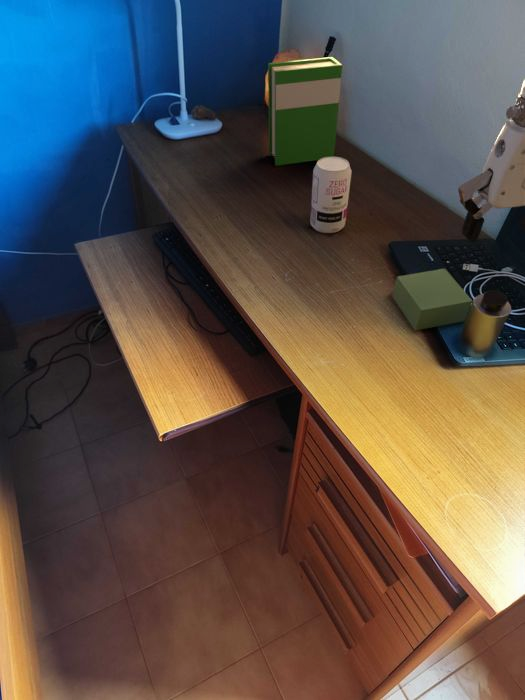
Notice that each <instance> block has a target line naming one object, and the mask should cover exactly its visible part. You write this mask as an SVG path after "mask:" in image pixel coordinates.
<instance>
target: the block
mask: <svg viewBox="0 0 525 700" xmlns="http://www.w3.org/2000/svg"><path fill="white" fill-rule="evenodd" d="M392 299H393V300H394V302H395V304H397V306H398V308H399V310H401V312H402V313H403V315H404V317H405V318H406V319H407V321H408V322H409V323H410V325H411V327H412V328H413V330H414V331H421V330H426V329H431V328H436V327H441V326H447V325H451V324H457V323H462V322H465V320H466V318H467V315H468V313H469V310H470V308H471V305H472V303H473V300H472V298H471V297H470V296H469V295H468V294H467V293H466V291H465V290H464V289H463V288H462V287H461V285H460V284H459V283H458V282H457V281H456V280H455V278H454V277H453V276H452V275H451V274H450V272H448V270H447V269H446V268H439V269H434V270H428V271H422V272H416V273H411V274H406V275H399V276H397V277H396V280H395V283H394V288H393V292H392Z"/></svg>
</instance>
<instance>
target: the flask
mask: <svg viewBox="0 0 525 700" xmlns="http://www.w3.org/2000/svg"><path fill="white" fill-rule="evenodd" d="M511 312H512V306H511V304H510V303H509V301H508V297H507V295H505V293H503V292H501V291H499V290H495V289H489V290H486V291H485V292H484V293H481V294H478V295H476V296H475V297H474V298H473V300H472V304H471V306H470V309H469V311H468V314H467V316H466V319H465V321H464V323H463V326H462V328H461V330H460V332H459V335H458V337H457V341H456V345H457V348H458V349H459V351H460V352H461V353H463V355H466V356H468V357H471V358H474V359H483V358H486V357H488V356H490V354H491V353H492V351H493V349H494V346H495V345H496V342H497V341H498V338H499V336H500V335H501V333H502V330H503V328H504V326H505V324H506V322H507V320H508V318H509V316H510V314H511Z"/></svg>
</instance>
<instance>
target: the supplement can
mask: <svg viewBox="0 0 525 700" xmlns="http://www.w3.org/2000/svg"><path fill="white" fill-rule="evenodd" d="M350 165H351V164H350V162H349V161H348V160H347V159H346V158H343V157H340V156H334V157H325V158H322V159H320V160H317V162H316V164H315V166H314V168H313V170H312V171H313V172H312V186H311V201H310V202H311V204H310V217H309V218H310V219H309V221H310V222H309V223H310V226H311V227H312V228H313V229H314V230H315V231H316V232H318V233H322V234H335V233H337V232H340V231H341V230H342V229H344V227H345V226H346V221H347V214H348V213H347V212H348V205H349V196H350V190H351V189H350V188H351V181H352V173H353V172H352V169H351V166H350Z"/></svg>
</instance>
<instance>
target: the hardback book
mask: <svg viewBox="0 0 525 700" xmlns="http://www.w3.org/2000/svg"><path fill="white" fill-rule="evenodd" d="M267 71H268V72H267V76H268V78H267V81H268V82H267V87H268V90H267V91H268V94H267V95H268V96H267V97H268V156H269V157H273V158H274V165H275V167H277V166H285V165H291V164H299V163H300V164H301V163H306V162H313V161H318V160H320V159H322V158H325V157H335V148H336V140H337V139H336V137H337V129H338V128H337V127H338V117H339V108H340V107H339V105H340V97H341V96H340V95H341V84H342V74H343V64H342V63H341V62H339V61H338V60H337V59H336V58H334V57H333V56H327V57H317V58H308V59H298V60H297V59H296V60H287V61H278V62H268V63H267ZM269 151H270V152H272V153H269ZM273 154H274V155H273ZM274 156H275V157H274Z"/></svg>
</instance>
